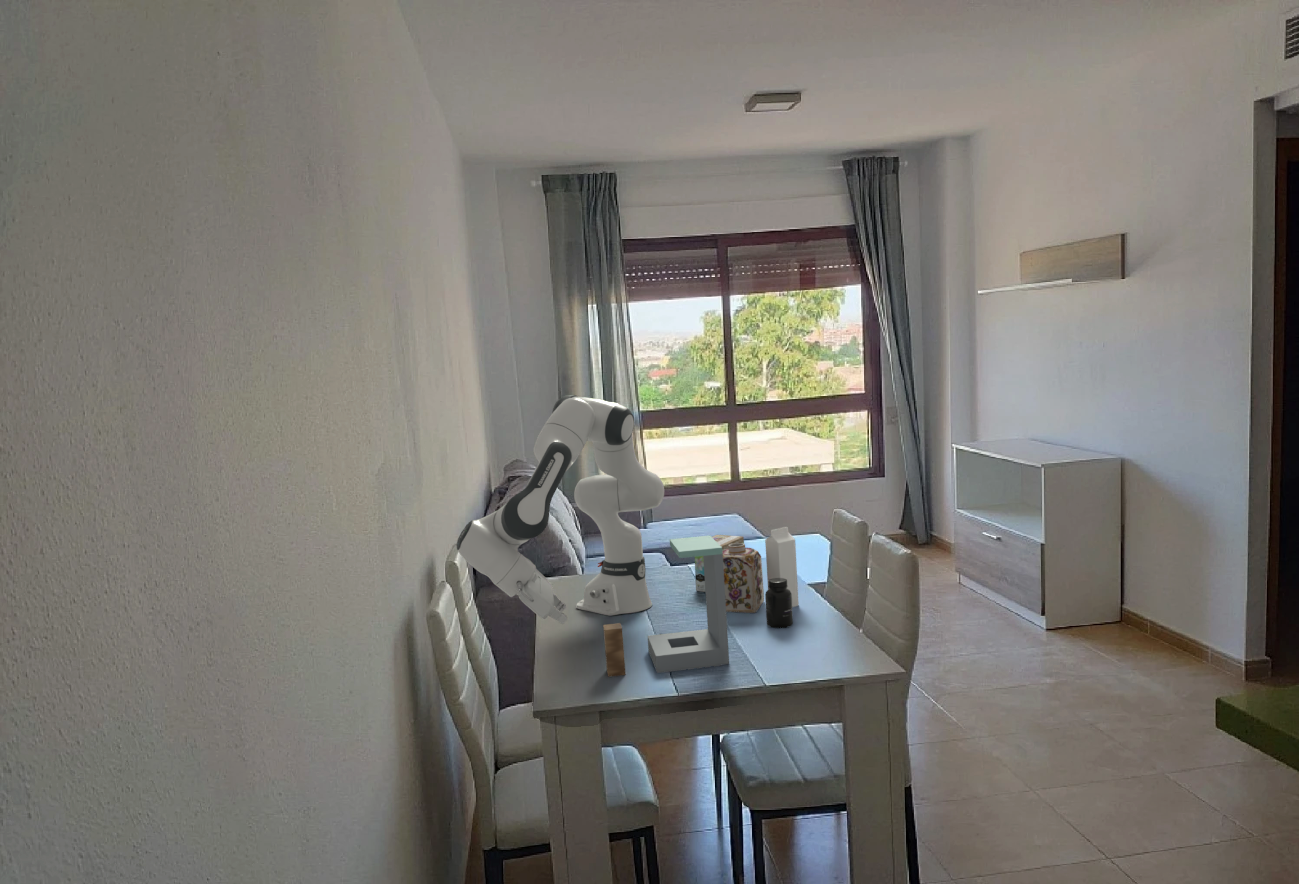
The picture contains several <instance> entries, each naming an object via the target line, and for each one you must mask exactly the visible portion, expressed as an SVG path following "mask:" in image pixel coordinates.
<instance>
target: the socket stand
mask: <svg viewBox="0 0 1299 884" xmlns="http://www.w3.org/2000/svg"><path fill="white" fill-rule="evenodd" d="M712 537H713V536H711V535H701V536H700V535H699V536H693V537H682V538H681V537H680V538H670V539H669V546H670V547H671V549H672V550H673V551H674V553H675V554H676V555H677V556H678V558H679V559H685V558H695V557H697V556H703V560H704V576H705V591H706V592H705V605H706V607H705V608H706V619H707V622H706V623H707V629H698V630H697V629H696V630H687V631H681V632H671V633H670V632H669V633H661V634H660V633H659V634H652V635H647V646H648V647H647V648H648V649H647V650H648V653H649V656H650V659H651V661H652V663H653V666H654V668H655V670H656V671H655V672H656V673H657V674H660V673H670V672H679V671H686V669H688V670H694V668H697V669H703V668H702V667H705V668H711V667H710V666H714V667H721V666H723V665H729V664H730V655H729V653H730V652H729V637H728V619H727V612H726V601H725V585H724V569H723V552H722V547H721V546H720V545H719V544H718V543H717V542H716V541H715V540H714V539H713V538H712Z"/></svg>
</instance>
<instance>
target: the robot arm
mask: <svg viewBox="0 0 1299 884" xmlns="http://www.w3.org/2000/svg"><path fill="white" fill-rule="evenodd" d="M634 427H635V418H634V415H633V412H632V410H630V409H629V408H628V407H626V406H624V405H622V404H620V403H618V402H613V401H608V400H604V399H601V398H600V399H599V398H591V397H585V396H578V395H575V394H568V395H567V394H566V395H564V396H563V395H562V397H560V398H559V399H558V400H557V401H556V402H555V404H554V406H553V408H552V411H551V414H550V416H549V417H548V419H547V420H546V422H545V423H544V425H543V426H542V428H541V430H540V432H539V434H538V435H537V438H536V440H535V443H534V446H533V450H532V451H533V454H534V457H535V459H536V461H537V462H538V463H537V466H536V468H535V470H534V472H533V473H532V475H531V477H530V478H529V481H528V482H527V484H526V486H525V488H523V489H522V490H521V491H519V492H518V493H516V494H515V495H513V496H512V497H511V498H510V499H509V500H508V501H507V502H505V504H504V505H503V506H501V507H500V508H498V509H497V510H496V511H493V512H492V513H490V514H488V515H485V516H483V517H481V518H478V519H472V520H470V521H469V522H468V523H467V524H466V525H465V526H464V528H463V529H462V531H461V533H460V535H459V536H458V538H457V540H456V550H457V552H458V553H459V555H460V556H461V557H462V558H463V559H464V560H465V561H466V562H467V563H468V564H469V565H470V566H471V567H472V568H474V570H476V571H477V572H478V573H480V574H482V575H485V576H487V577H488V578H489V579H490V581H491V582H492V583H493V585H495V586H496V587H498V588H499V590H501V591H502V592H503V593H505V594H506V595H507V596H508V597H510V598H513V597H515V596H516V595H517V596H518V598H519V600H520V601H521V603H523V604H524V605H525V606H526V607H527V608H529V610H531V611H532V612H533V613H535V614H536V615H537V617H539V618H541V619H543V620H545V619H547V618H548V617H550V618H552V619H553V620H555V621H558V623H560V624H562V625H564V624H565V623H566V622H567V621H568V617H567V615H566V614H565V613H563V612H564V610H565V609H566V608H567V607H566V604H565V603H564V602H563V601H562V600H561V599H560V598H559V597H558V595H557V594H556V593H555V592H554V587H553V584H552V583H551V582H550V581H549V580H548V578H546V576H544V574H543V573H541V572H540V571H539V570H538V569H537V566H536V564H534V562H532V561H531V560H530V559H529V558H527V557H525V556H524V555H523V554H522V553H520V552H519V547H520V546H521V545H523V544H525V543H526V542H528V541H529V540H531V539H533V538H537V537H538V536H540V535H541V534H542V533H543V532H544V531H545V529H546V528H547V526H548V524H549V519H550V509H551V503H552V499H553V496H554V494H555V492H556V491H557V490H558V486H559V485H560V483H561V481H562V479H563V477H564V475H565V473H566V472H567V471H568V470H569V469H570V468H571V467H572V466H573V465H574V464H575V462H576V461H577V459H578V457H579V456H580V454H581V453H582V451H583V450H584V448H585V445H586V443H587V442H592V448H593V455H594V460H595V464H596V466H597V468H598V469H599V470H600V471H601V472H602V473H604V474H595V475H591V476H587V477H584V478H581V479H580V480H578V482H577V483H576V486H575V488H574V493H573V496H574V497H573V499H574V502H575V504H576V506H577V508H578V509H579V510H580V511H581V512H583V513H585V514H586V515H587V516H589V517H590V518H591V519H592V521H594V523H595V524H596V526H597V527H598V530H599V531H600V534H601V538H602V543H603V551H604V552H603V553H604V559H603V560H601V561H600V562H598V563H597V568H600V572H599V573H598V574H597V575H596V576H595V577H593V578H592V579H591V580H590V581H589V582H588V583H587V584H586V585H585V587H584V591H583V598H582V599H581V600H579V601H577V603H576V606H575V607H576V609H579V610H582V611H587V612H591V613H594V614H595V613H596V614H599V615H600V614H601V615H605V616H617V615H621V614H624V615H625V614H633V613H638V612H641V611H645V610H647V609H650V608H651V607H652V606H653V603H652V600H651V597H650V594H649V590H648V585H647V580H646V561H645V559H646V558H645V556H644V553H643V551H644V550H643V539H642V533H641V530H640V529H639V528H638V527H637V526H635V525H633V524H632V523H629V522H627V521H625V520H623V519H621V517H620V516H619V513H624V512H626V513H627V512H640V511H642V512H643V511H647V510H651V509H654V508H658V507H659V506H660V505H661V503H662V502H663V500H664V497H665V485H664V483H663V480H662V479H661V478H660V476H658V474H656V473H654V472H651V471H650V470H648V469H646V468H645V467H644V466H643V465H642V464H641V463H640V462H639V460H638V458H637V455H636V452H635V447H634V439H633V432H634Z"/></svg>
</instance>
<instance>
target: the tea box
mask: <svg viewBox="0 0 1299 884" xmlns="http://www.w3.org/2000/svg"><path fill="white" fill-rule="evenodd" d="M711 537H712V538H713V539H714V540H715V541H716V542H717V543H718V544H719V545H720V546H721V547H722V550H724V549H728V545H730V544H733V543H744V544H745V539H744V536H741V535H740V536H739V535H725V534H716V535H713V536H711ZM694 572H695V574H694V576H695V591H697V592H701V593H703V592H704V593H706V591H705V576H704V560H703V556H697V557H694Z"/></svg>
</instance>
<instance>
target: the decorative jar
mask: <svg viewBox="0 0 1299 884" xmlns="http://www.w3.org/2000/svg"><path fill="white" fill-rule="evenodd" d="M722 552H723V569H724V585H725V601H726V613H744V614H745V613H749V614H755V613H757V612H758V610H759V609H760V607H761V606H762V604H763V603H764V601H765V600H764V599H765V592H764V579H763V577H764V576H763V563H762V556H761V554H760V553H759V550H757V549H754V548H753V547H746V544H745V542H744V543H733V544H730V545H728V549H724V550H722Z"/></svg>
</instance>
